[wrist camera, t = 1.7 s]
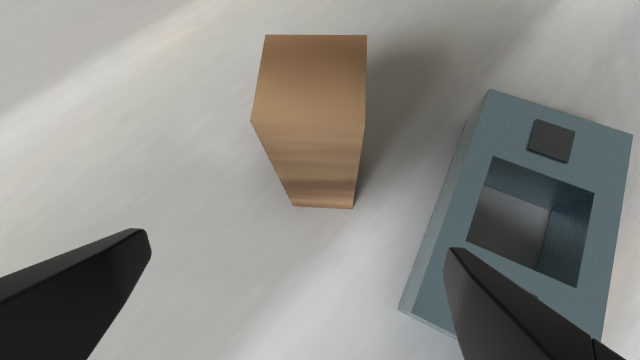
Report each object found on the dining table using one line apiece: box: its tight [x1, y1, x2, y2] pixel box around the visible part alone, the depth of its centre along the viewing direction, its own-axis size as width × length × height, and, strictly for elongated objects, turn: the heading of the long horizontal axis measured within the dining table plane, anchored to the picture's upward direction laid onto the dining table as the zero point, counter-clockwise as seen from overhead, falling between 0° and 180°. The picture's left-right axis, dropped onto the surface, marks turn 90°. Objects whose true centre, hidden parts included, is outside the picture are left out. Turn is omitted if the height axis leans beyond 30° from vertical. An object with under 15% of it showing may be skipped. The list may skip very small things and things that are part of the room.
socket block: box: [397, 89, 633, 342], centre depth 20 cm, size 16×9×4 cm, turn 154°
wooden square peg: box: [250, 35, 367, 209], centre depth 18 cm, size 4×4×12 cm
